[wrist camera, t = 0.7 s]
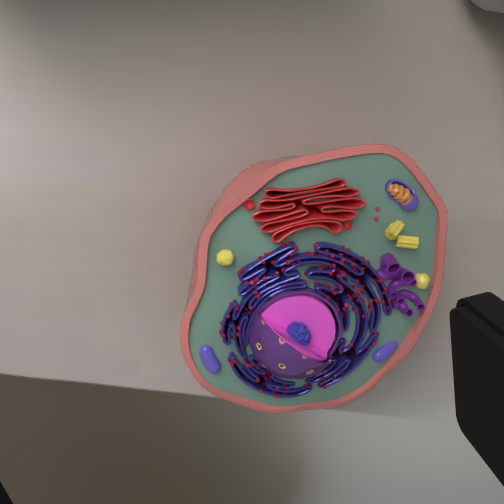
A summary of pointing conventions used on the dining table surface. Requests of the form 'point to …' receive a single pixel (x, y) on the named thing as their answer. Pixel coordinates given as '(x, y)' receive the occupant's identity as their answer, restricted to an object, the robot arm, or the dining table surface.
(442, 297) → the dining table surface
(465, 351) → the robot arm
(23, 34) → the dining table surface
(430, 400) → the dining table surface
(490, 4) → the salt shaker
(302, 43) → the dining table surface
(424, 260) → the cell model
